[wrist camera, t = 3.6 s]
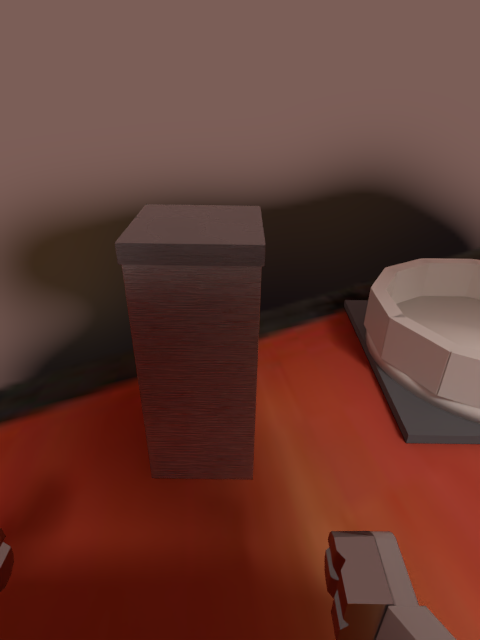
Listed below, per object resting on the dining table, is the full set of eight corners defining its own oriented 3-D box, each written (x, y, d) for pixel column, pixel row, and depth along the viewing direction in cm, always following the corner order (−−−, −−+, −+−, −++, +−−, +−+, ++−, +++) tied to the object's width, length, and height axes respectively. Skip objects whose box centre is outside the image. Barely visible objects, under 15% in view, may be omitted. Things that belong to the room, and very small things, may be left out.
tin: (252, 408, 25) (260, 206, 19) (254, 481, 20) (265, 244, 14) (166, 407, 25) (145, 204, 19) (149, 479, 20) (114, 242, 14)
